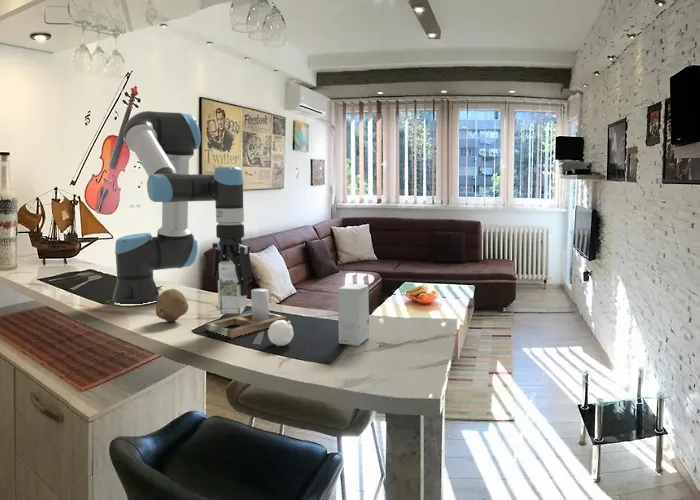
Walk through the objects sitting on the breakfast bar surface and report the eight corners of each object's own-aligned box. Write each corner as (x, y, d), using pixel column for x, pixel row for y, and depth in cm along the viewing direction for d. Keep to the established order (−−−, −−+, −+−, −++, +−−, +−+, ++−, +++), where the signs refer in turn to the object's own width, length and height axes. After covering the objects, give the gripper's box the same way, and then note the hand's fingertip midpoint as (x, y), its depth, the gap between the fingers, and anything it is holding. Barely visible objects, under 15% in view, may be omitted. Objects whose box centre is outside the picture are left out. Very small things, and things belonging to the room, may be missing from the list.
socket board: (205, 330, 155) (205, 323, 155) (260, 316, 170) (260, 310, 170) (231, 338, 148) (231, 331, 147) (286, 323, 163) (286, 316, 162)
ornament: (277, 339, 147) (294, 317, 146) (286, 354, 142) (303, 332, 141) (259, 331, 143) (276, 309, 142) (267, 347, 138) (285, 324, 137)
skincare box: (358, 346, 141) (359, 289, 139) (337, 344, 143) (337, 287, 141) (369, 337, 149) (370, 283, 147) (348, 335, 151) (349, 282, 149)
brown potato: (195, 319, 167) (193, 287, 166) (177, 327, 159) (176, 293, 157) (169, 317, 170) (168, 285, 169) (151, 324, 162) (149, 291, 160)
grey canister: (248, 323, 162) (247, 290, 161) (261, 320, 166) (260, 287, 165) (259, 326, 159) (258, 292, 158) (272, 323, 163) (272, 290, 162)
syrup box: (245, 309, 157) (243, 259, 155) (240, 315, 151) (238, 262, 149) (225, 309, 157) (223, 259, 156) (219, 314, 152) (217, 262, 150)
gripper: (196, 222, 155) (199, 301, 158) (242, 226, 142) (245, 312, 145) (218, 220, 161) (221, 297, 164) (265, 224, 147) (267, 307, 150)
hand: (232, 304), depth 154 cm, fingers closed on syrup box, 8 cm apart
